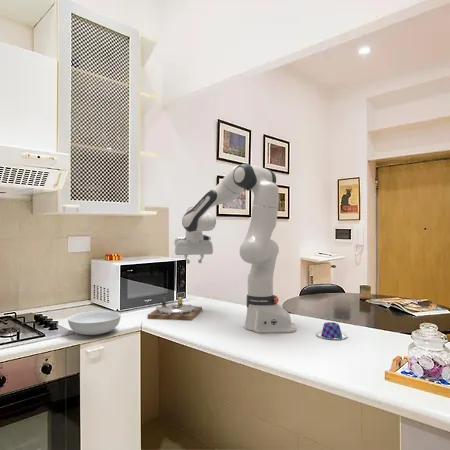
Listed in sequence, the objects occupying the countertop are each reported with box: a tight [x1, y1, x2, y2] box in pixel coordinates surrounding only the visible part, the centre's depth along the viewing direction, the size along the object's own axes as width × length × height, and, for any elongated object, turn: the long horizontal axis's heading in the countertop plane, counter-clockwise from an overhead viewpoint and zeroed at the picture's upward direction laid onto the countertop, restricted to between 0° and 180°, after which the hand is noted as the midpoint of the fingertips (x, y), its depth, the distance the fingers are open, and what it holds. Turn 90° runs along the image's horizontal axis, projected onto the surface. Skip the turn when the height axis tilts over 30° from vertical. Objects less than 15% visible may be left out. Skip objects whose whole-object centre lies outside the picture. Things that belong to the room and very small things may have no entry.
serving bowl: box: [67, 310, 121, 336], centre depth 154 cm, size 21×21×7 cm
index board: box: [147, 296, 203, 321], centre depth 187 cm, size 22×22×7 cm
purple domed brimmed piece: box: [315, 321, 348, 340], centre depth 147 cm, size 12×12×5 cm
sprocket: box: [155, 296, 197, 315], centre depth 187 cm, size 21×21×5 cm
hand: (194, 263), depth 196 cm, fingers open, 5 cm apart
